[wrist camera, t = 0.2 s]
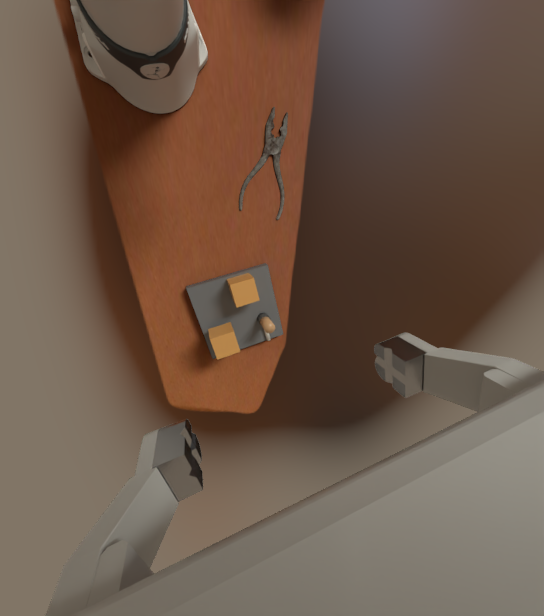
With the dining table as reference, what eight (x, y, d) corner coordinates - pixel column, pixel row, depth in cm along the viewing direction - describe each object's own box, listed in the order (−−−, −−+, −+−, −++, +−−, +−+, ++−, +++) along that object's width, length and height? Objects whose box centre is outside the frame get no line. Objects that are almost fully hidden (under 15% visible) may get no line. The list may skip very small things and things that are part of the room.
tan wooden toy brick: (226, 279, 54) (229, 285, 49) (248, 272, 55) (253, 277, 50) (232, 300, 56) (236, 307, 51) (254, 293, 57) (259, 300, 52)
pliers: (239, 218, 52) (238, 101, 45) (238, 218, 53) (237, 103, 46) (283, 220, 55) (288, 109, 48) (282, 220, 55) (287, 111, 49)
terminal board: (186, 286, 54) (185, 298, 46) (265, 263, 57) (277, 270, 49) (212, 354, 61) (215, 375, 53) (280, 330, 64) (293, 347, 56)
